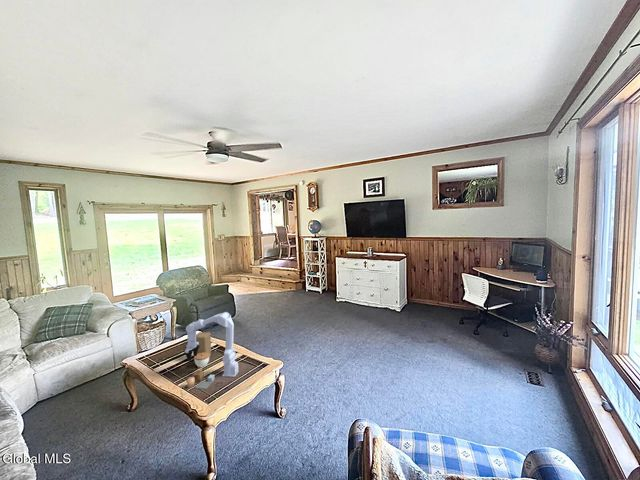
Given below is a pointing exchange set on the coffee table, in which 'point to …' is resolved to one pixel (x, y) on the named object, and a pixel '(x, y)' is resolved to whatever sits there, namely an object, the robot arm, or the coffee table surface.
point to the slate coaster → (203, 385)
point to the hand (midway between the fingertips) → (192, 358)
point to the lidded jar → (201, 359)
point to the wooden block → (204, 342)
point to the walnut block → (198, 376)
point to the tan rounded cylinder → (190, 382)
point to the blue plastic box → (211, 378)
